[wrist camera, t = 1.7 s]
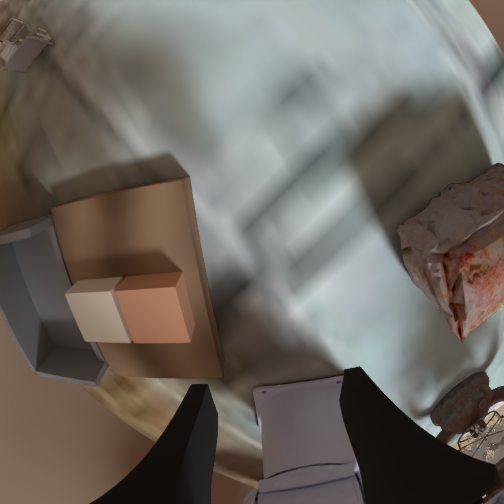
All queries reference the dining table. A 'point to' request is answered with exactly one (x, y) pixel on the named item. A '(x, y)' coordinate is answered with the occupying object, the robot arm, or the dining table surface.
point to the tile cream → (98, 310)
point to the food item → (460, 250)
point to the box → (44, 305)
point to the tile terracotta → (156, 308)
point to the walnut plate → (145, 268)
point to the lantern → (473, 421)
